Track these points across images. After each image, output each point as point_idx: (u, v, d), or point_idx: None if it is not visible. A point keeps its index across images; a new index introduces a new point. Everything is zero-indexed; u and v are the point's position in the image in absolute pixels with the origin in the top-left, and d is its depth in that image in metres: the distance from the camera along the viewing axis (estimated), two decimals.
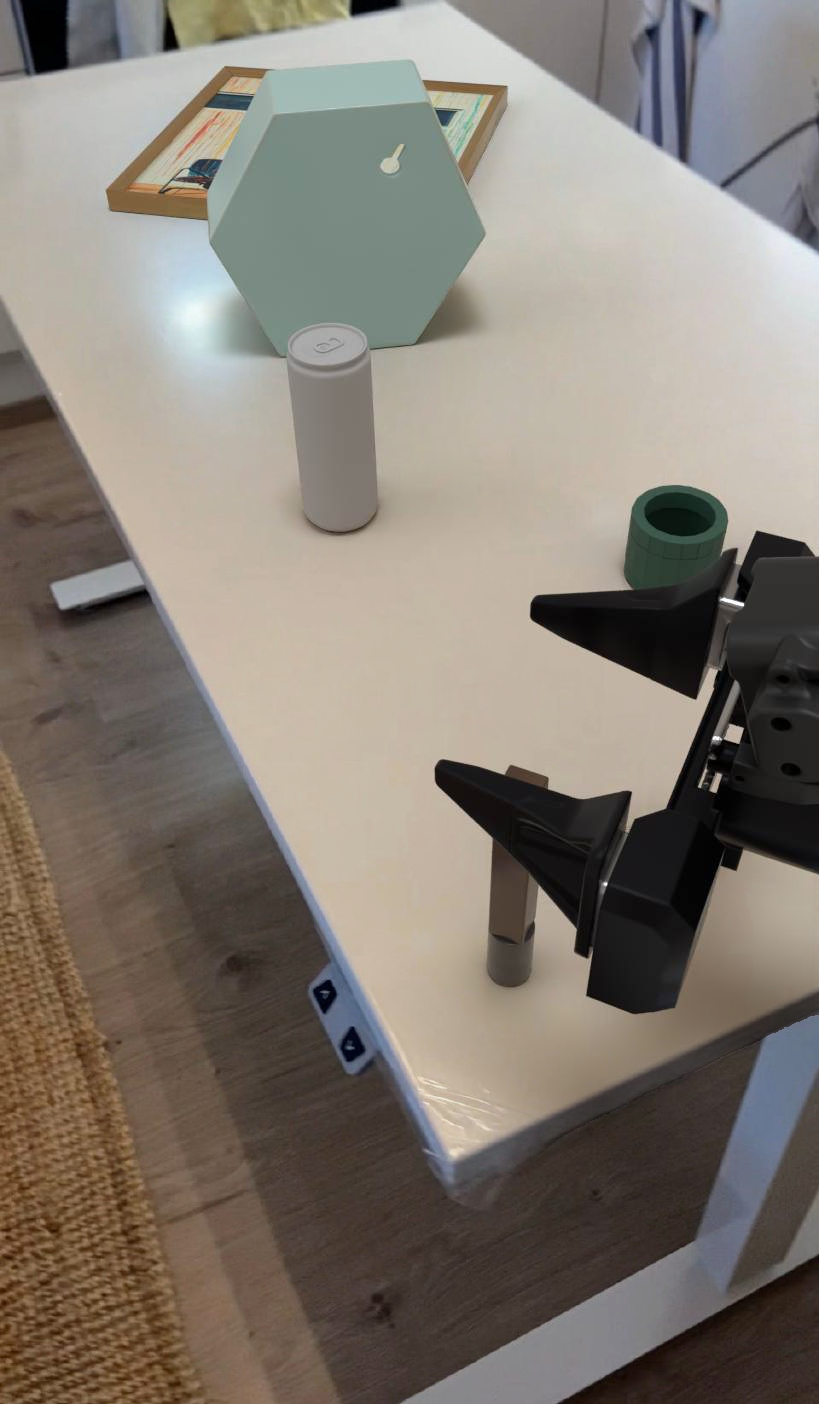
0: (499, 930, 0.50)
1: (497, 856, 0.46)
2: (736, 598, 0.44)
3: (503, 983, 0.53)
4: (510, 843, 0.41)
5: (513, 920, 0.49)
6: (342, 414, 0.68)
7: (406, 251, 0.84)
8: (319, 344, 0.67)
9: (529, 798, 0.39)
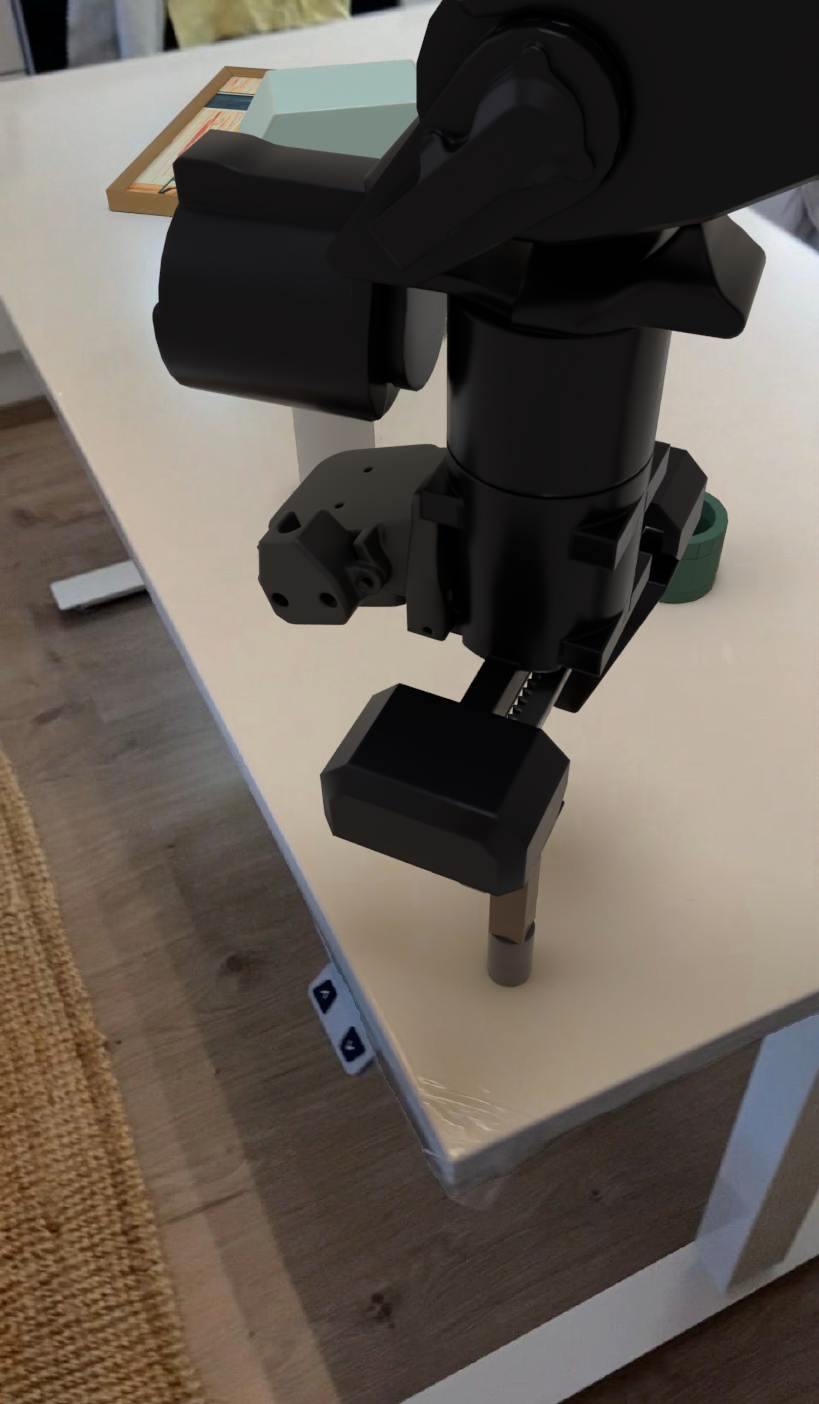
0: (499, 930, 0.50)
1: None
2: None
3: (503, 983, 0.53)
4: None
5: (513, 920, 0.49)
6: None
7: None
8: None
9: None
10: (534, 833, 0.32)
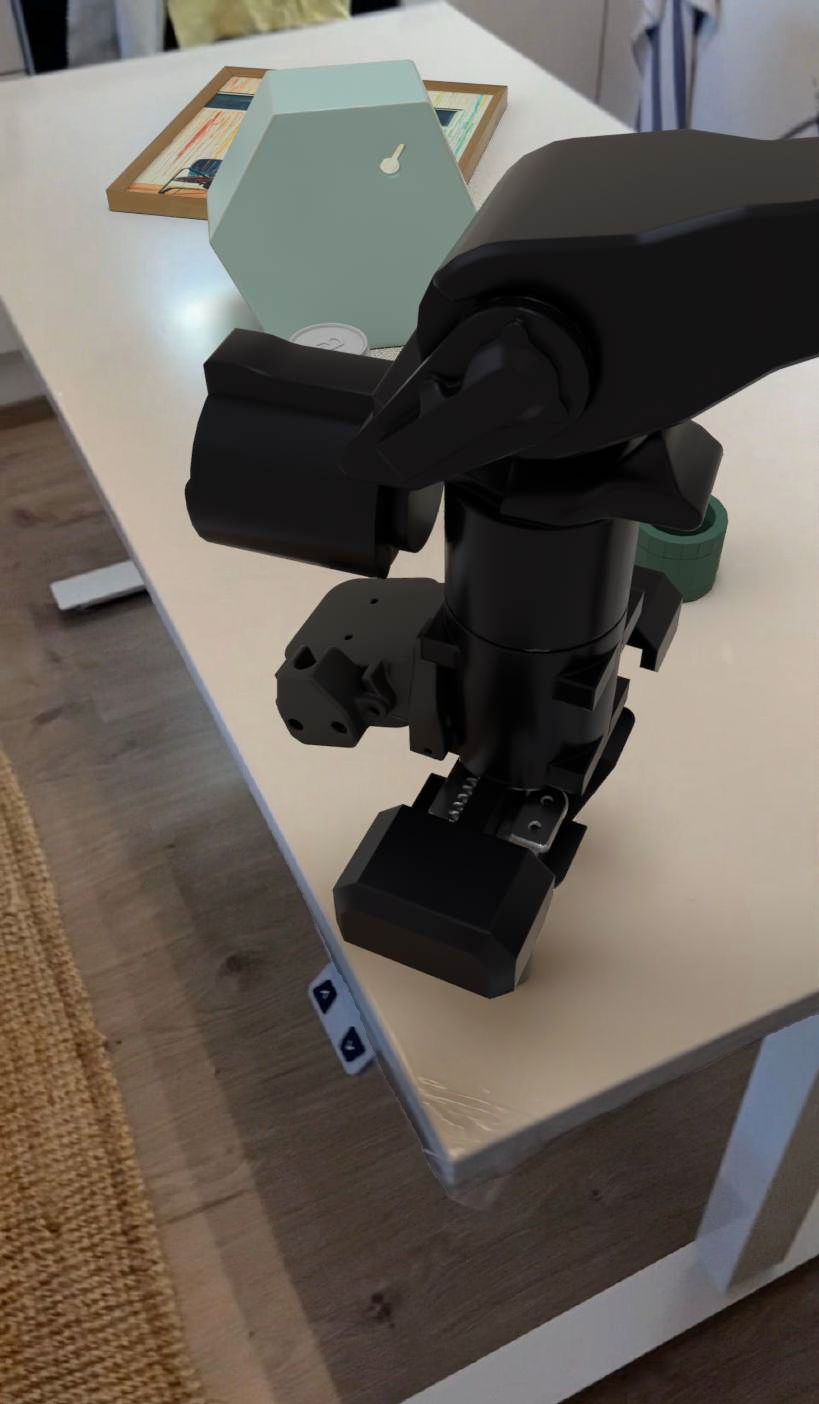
0: None
1: None
2: None
3: None
4: None
5: None
6: None
7: (406, 251, 0.84)
8: (319, 344, 0.67)
9: None
10: (522, 945, 0.36)
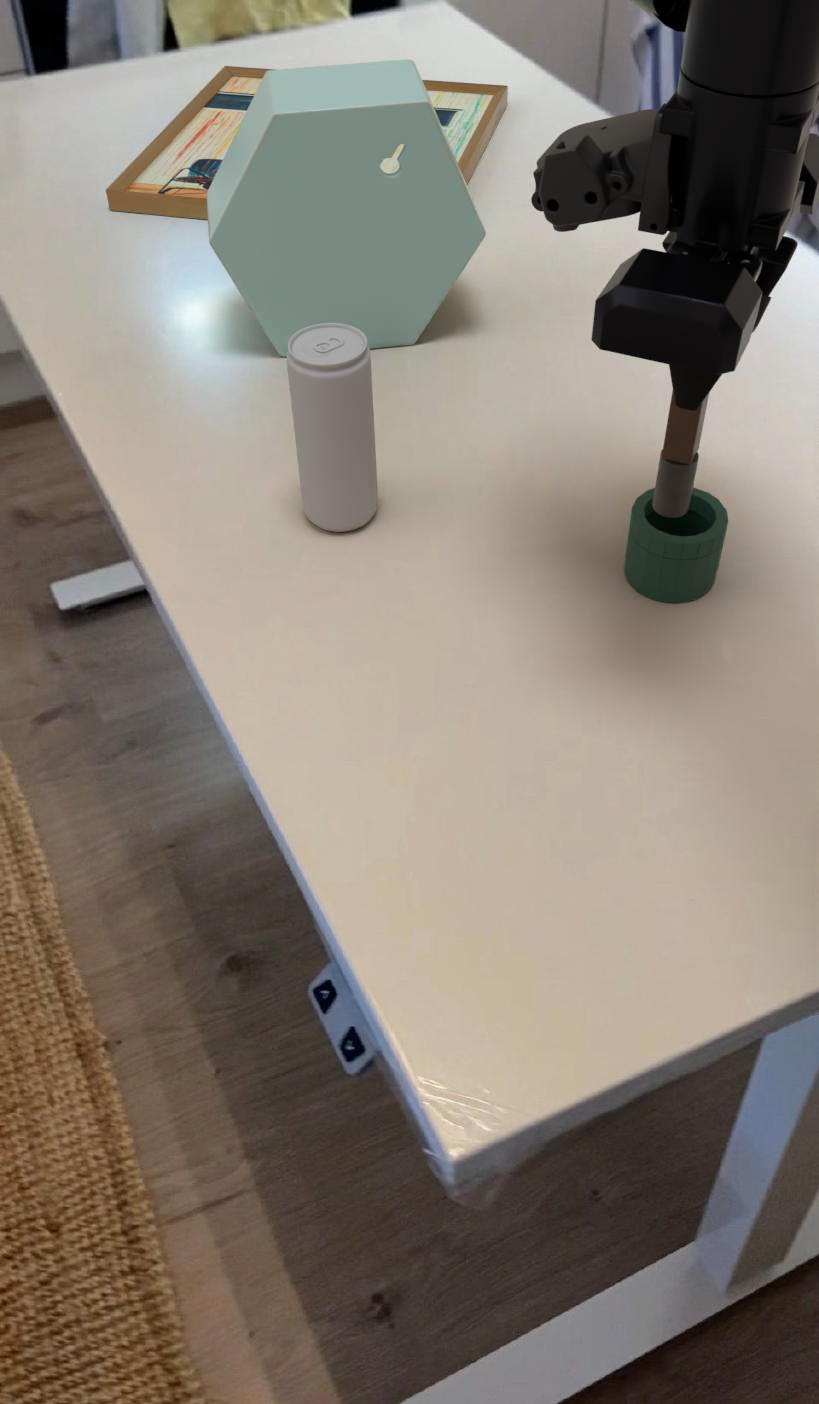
0: (672, 452, 0.62)
1: None
2: None
3: (668, 514, 0.65)
4: None
5: (686, 437, 0.61)
6: (342, 414, 0.68)
7: (406, 251, 0.84)
8: (319, 344, 0.67)
9: None
10: (745, 324, 0.48)
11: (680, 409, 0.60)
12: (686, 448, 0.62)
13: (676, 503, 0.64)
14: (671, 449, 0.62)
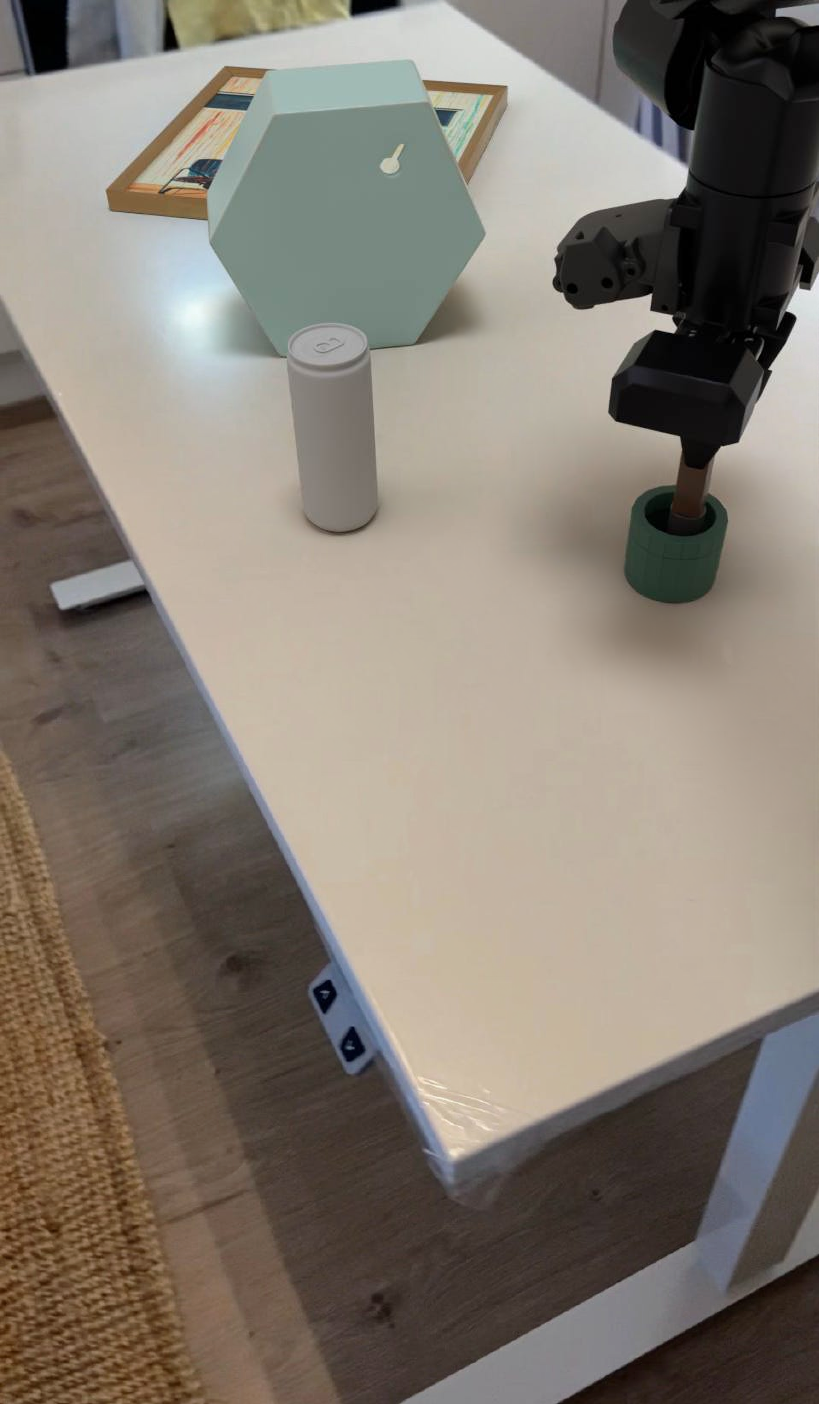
0: (681, 507, 0.67)
1: None
2: None
3: None
4: None
5: (694, 493, 0.66)
6: (342, 414, 0.68)
7: (406, 251, 0.84)
8: (319, 344, 0.67)
9: None
10: (748, 401, 0.53)
11: (688, 468, 0.65)
12: (694, 503, 0.67)
13: None
14: (680, 503, 0.67)
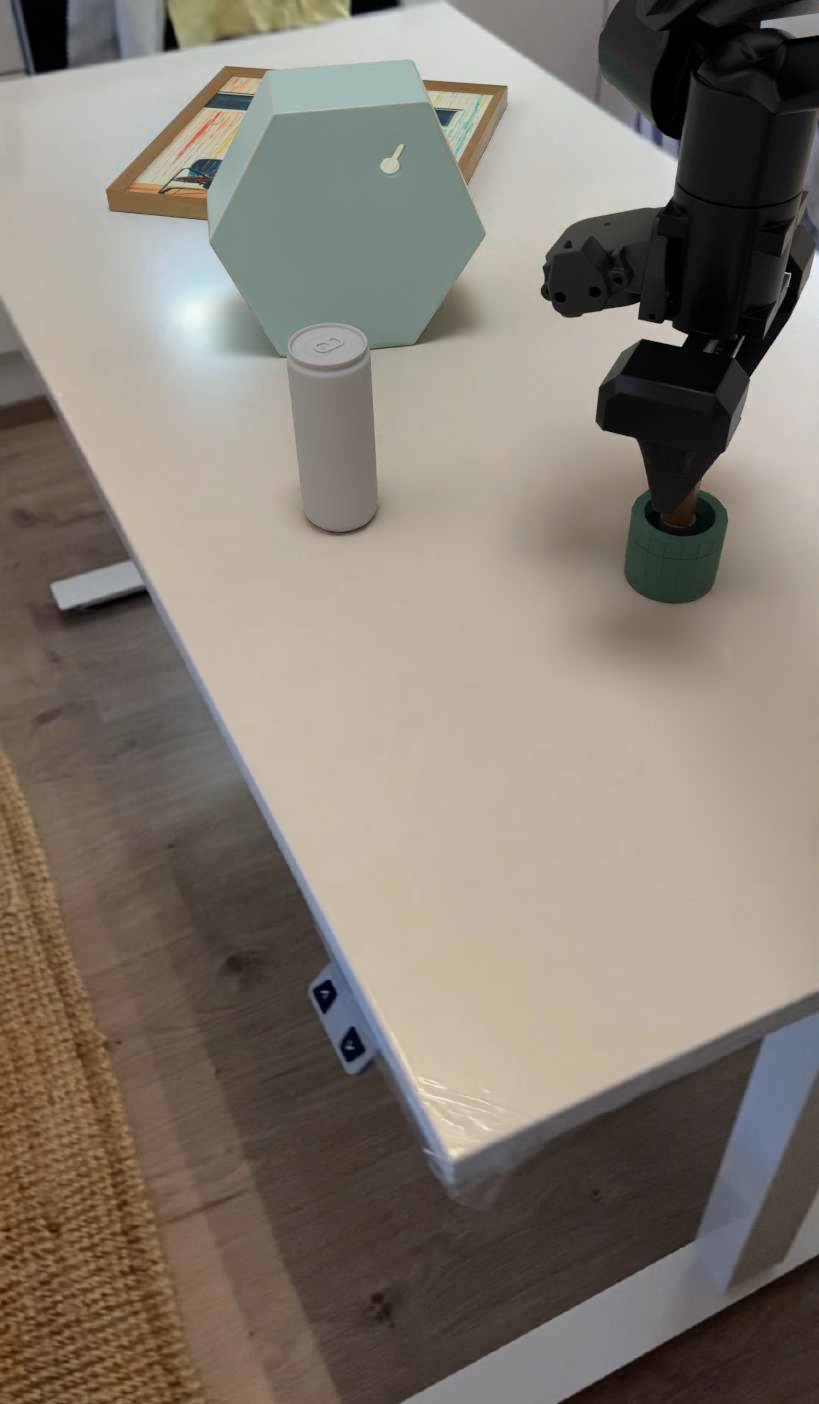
0: (671, 515, 0.67)
1: None
2: None
3: None
4: (687, 477, 0.59)
5: (684, 501, 0.66)
6: (342, 414, 0.68)
7: (406, 251, 0.84)
8: (319, 344, 0.67)
9: None
10: (734, 411, 0.53)
11: None
12: (684, 511, 0.67)
13: None
14: None
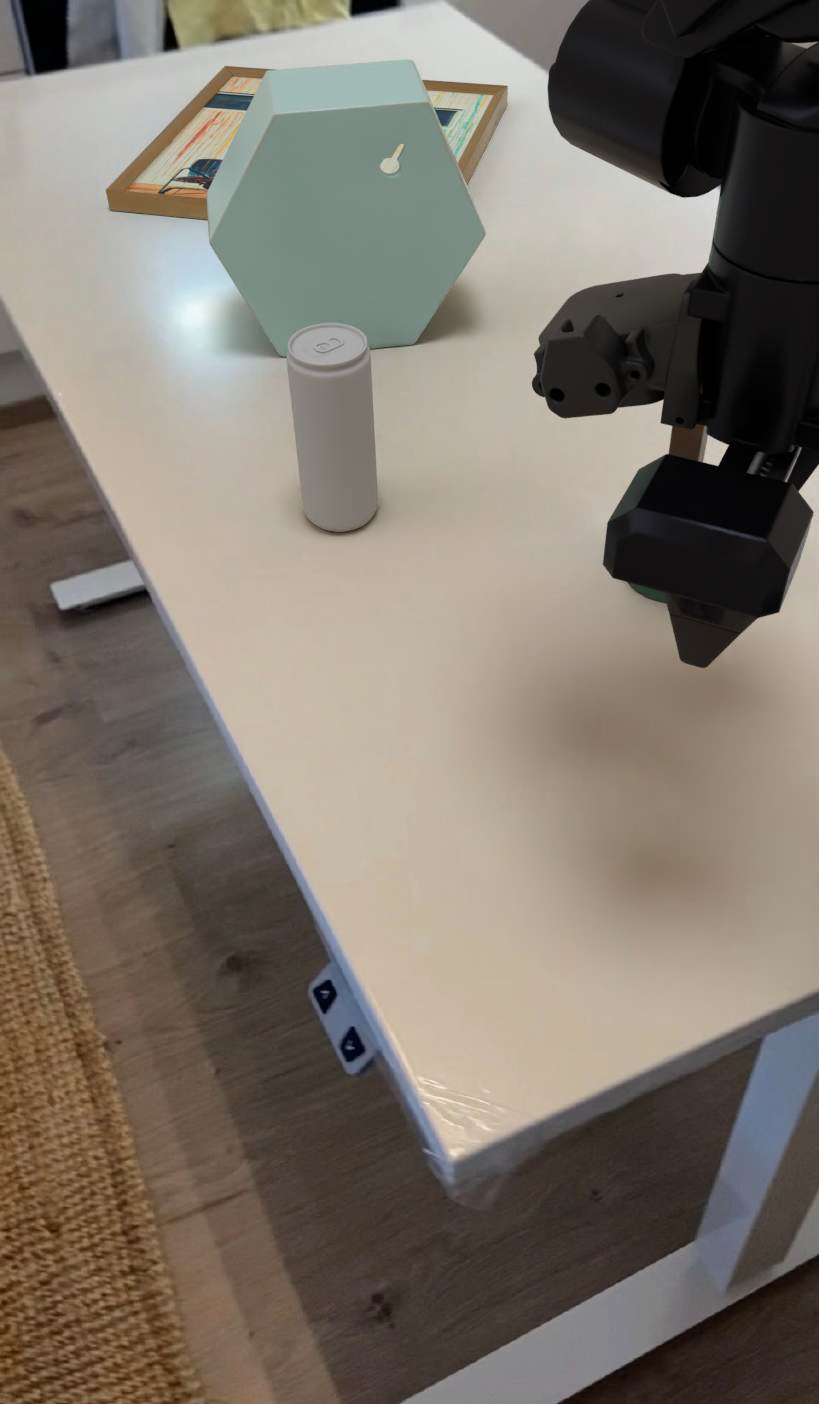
0: None
1: None
2: None
3: None
4: (725, 628, 0.45)
5: None
6: (342, 414, 0.68)
7: (406, 251, 0.84)
8: (319, 344, 0.67)
9: None
10: (793, 560, 0.39)
11: None
12: None
13: None
14: None
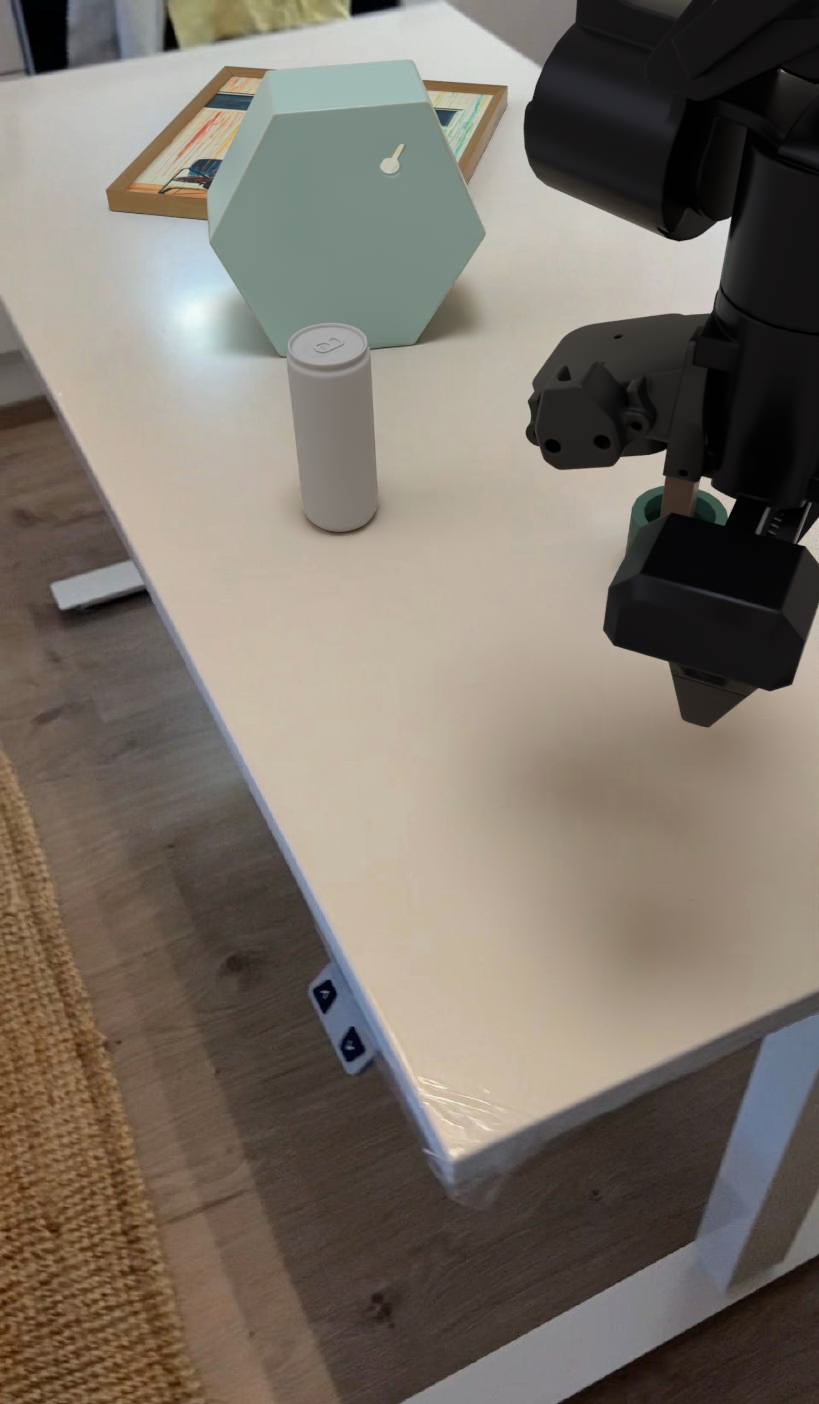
0: None
1: None
2: None
3: None
4: (730, 690, 0.42)
5: None
6: (342, 414, 0.68)
7: (406, 251, 0.84)
8: (319, 344, 0.67)
9: None
10: (808, 631, 0.36)
11: (672, 498, 0.64)
12: None
13: None
14: None
